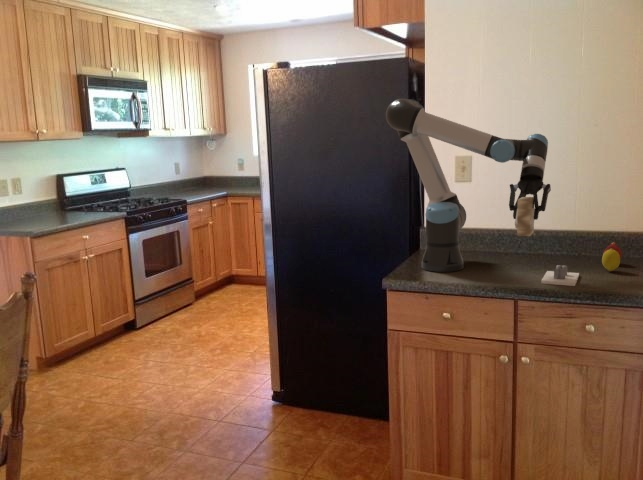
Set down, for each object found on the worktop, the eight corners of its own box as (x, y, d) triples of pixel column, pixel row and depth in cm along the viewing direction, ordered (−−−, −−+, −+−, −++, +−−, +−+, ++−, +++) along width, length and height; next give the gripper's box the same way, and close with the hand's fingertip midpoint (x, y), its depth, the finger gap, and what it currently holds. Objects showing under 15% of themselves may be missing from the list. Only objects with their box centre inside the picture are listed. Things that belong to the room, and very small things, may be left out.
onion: (613, 266, 207) (614, 244, 206) (599, 263, 213) (600, 242, 211) (624, 264, 210) (625, 242, 209) (610, 261, 215) (611, 240, 214)
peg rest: (541, 283, 189) (541, 271, 188) (547, 273, 201) (547, 262, 201) (574, 286, 184) (575, 273, 184) (579, 276, 197) (579, 264, 196)
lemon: (621, 273, 198) (622, 250, 196) (603, 273, 199) (604, 250, 197) (616, 269, 203) (618, 246, 202) (599, 269, 204) (600, 246, 203)
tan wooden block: (517, 235, 195) (517, 199, 193) (521, 231, 202) (521, 197, 200) (529, 236, 193) (530, 199, 191) (533, 232, 200) (534, 197, 198)
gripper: (559, 178, 204) (552, 233, 192) (508, 179, 212) (498, 232, 200) (558, 164, 198) (550, 220, 187) (505, 165, 206) (495, 218, 195)
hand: (523, 226), depth 194 cm, fingers closed on tan wooden block, 4 cm apart
